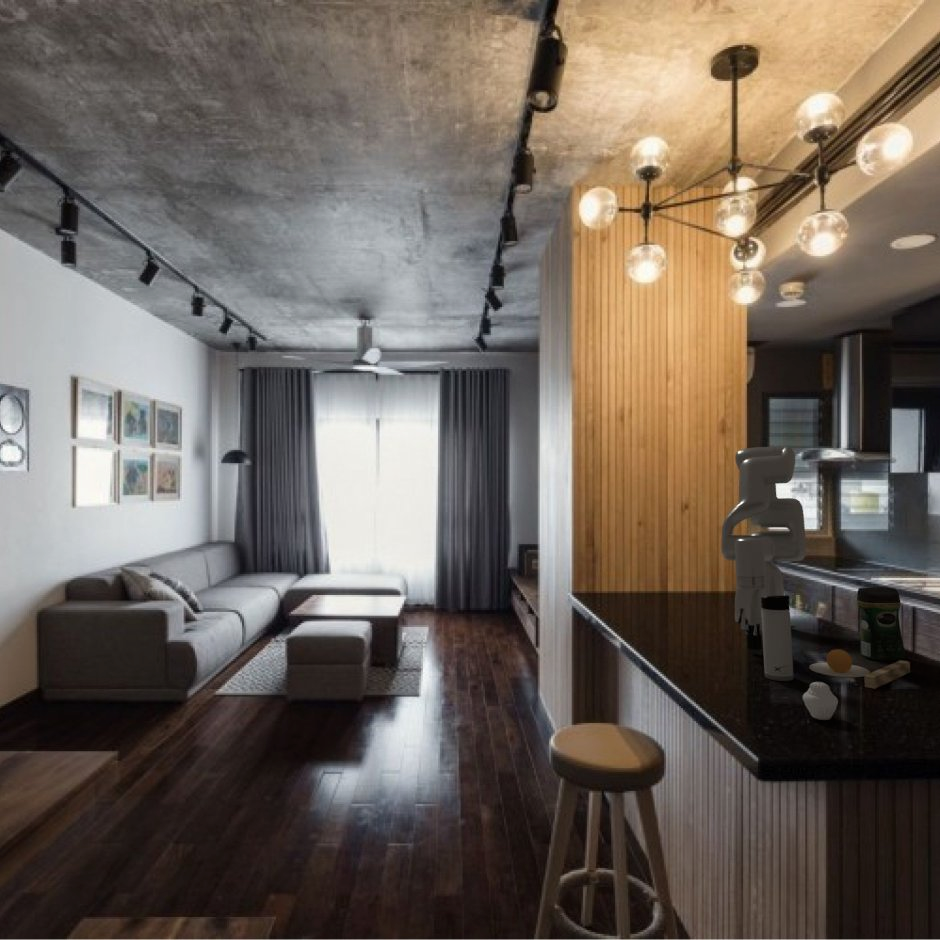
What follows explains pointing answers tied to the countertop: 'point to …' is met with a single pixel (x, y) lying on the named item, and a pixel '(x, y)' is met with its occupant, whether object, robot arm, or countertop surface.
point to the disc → (853, 672)
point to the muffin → (820, 701)
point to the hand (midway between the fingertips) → (754, 648)
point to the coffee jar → (880, 623)
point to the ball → (839, 660)
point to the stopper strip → (887, 674)
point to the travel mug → (777, 638)
